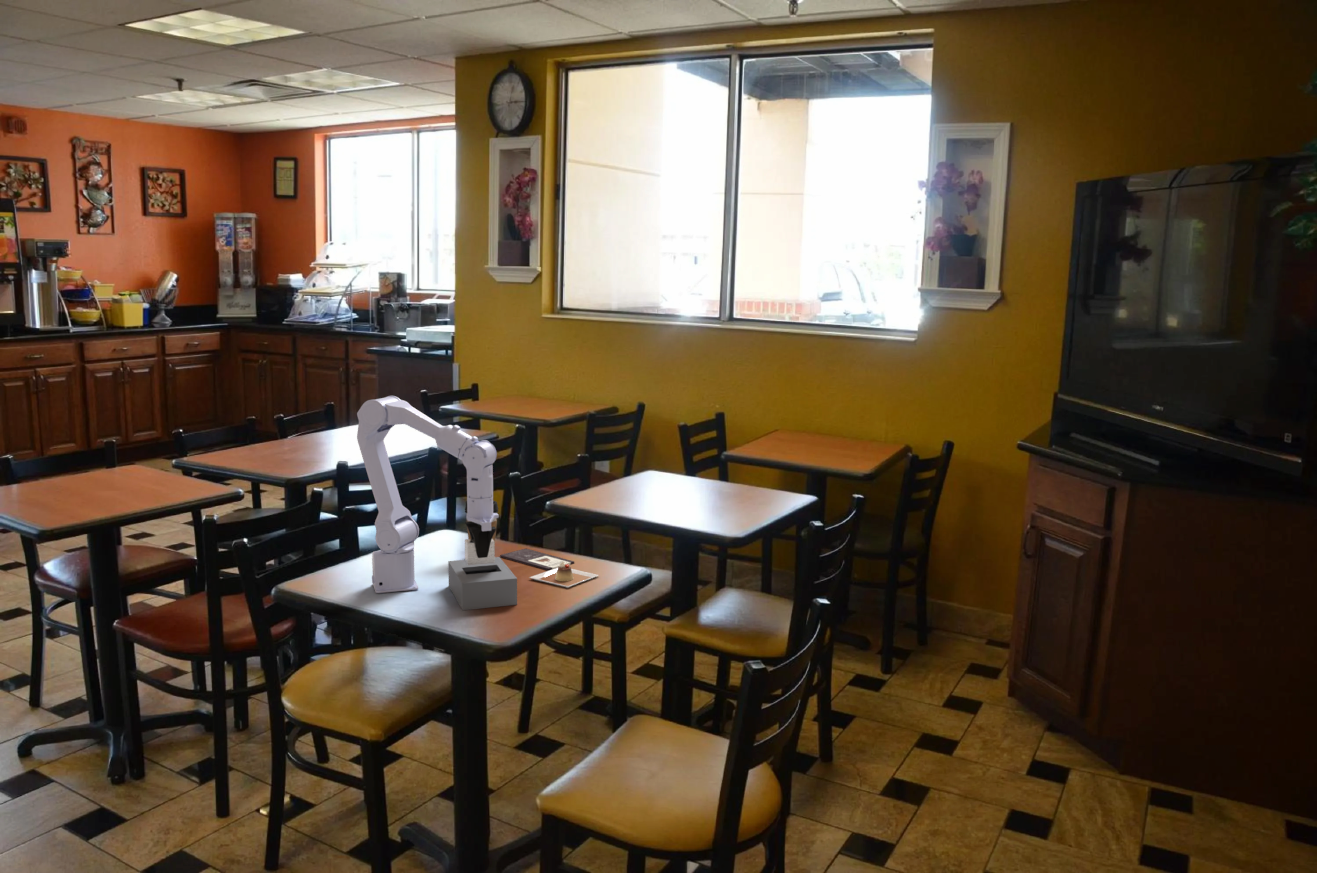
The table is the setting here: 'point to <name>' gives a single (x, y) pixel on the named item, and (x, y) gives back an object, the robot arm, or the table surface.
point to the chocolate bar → (536, 559)
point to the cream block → (471, 553)
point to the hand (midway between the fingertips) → (480, 554)
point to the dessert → (563, 575)
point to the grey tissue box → (482, 584)
